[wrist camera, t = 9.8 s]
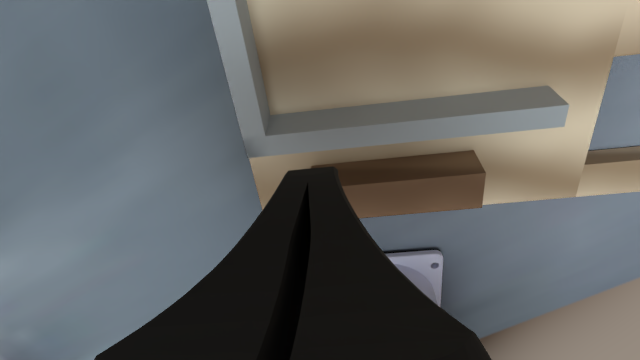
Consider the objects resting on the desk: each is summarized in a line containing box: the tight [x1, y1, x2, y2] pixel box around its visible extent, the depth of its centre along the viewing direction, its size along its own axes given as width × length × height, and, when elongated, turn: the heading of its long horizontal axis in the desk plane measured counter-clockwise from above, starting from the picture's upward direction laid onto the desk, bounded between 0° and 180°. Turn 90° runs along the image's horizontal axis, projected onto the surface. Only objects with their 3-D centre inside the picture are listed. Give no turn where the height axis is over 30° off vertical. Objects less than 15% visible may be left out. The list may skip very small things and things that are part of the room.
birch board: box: [246, 0, 640, 210], centre depth 18 cm, size 17×26×1 cm, turn 97°
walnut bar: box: [311, 150, 486, 218], centre depth 22 cm, size 4×8×2 cm, turn 97°
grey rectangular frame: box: [207, 0, 569, 158], centre depth 16 cm, size 11×14×2 cm
